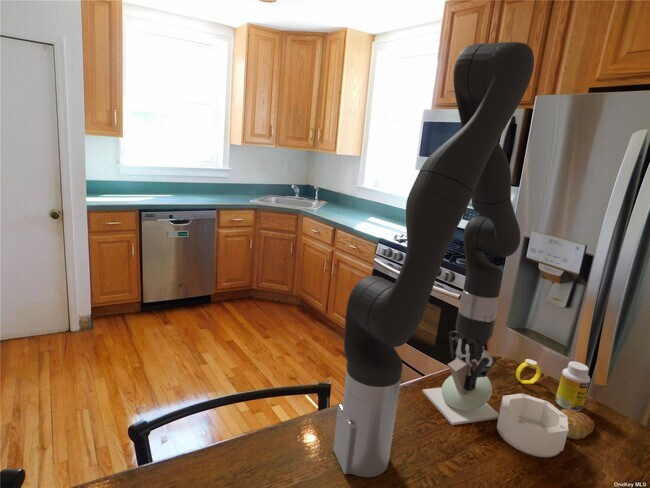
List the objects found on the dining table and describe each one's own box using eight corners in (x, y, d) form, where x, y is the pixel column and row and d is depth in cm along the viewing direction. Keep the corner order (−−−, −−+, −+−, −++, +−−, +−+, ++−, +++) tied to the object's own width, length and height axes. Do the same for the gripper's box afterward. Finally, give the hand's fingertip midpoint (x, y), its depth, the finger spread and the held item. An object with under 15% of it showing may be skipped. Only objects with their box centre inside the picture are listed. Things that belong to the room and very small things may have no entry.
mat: (452, 425, 88) (452, 422, 88) (422, 391, 99) (422, 389, 99) (500, 418, 92) (500, 415, 91) (466, 386, 103) (466, 384, 102)
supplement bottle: (574, 415, 95) (585, 374, 93) (550, 402, 99) (559, 362, 97) (586, 408, 98) (597, 368, 96) (562, 395, 103) (572, 357, 100)
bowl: (526, 461, 79) (532, 436, 78) (484, 420, 90) (489, 397, 89) (575, 452, 83) (582, 427, 82) (530, 413, 94) (535, 391, 93)
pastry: (573, 415, 95) (577, 400, 94) (602, 435, 89) (607, 419, 88) (543, 422, 92) (547, 407, 91) (571, 444, 86) (575, 428, 85)
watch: (532, 380, 109) (539, 359, 108) (539, 386, 106) (546, 365, 105) (511, 379, 108) (517, 357, 106) (518, 385, 105) (524, 363, 104)
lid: (461, 418, 89) (450, 391, 86) (433, 389, 99) (423, 363, 96) (503, 392, 91) (494, 364, 88) (471, 365, 101) (463, 340, 98)
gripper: (443, 300, 95) (431, 369, 99) (483, 327, 82) (468, 406, 86) (471, 299, 98) (459, 367, 102) (515, 325, 85) (499, 402, 89)
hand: (463, 384), depth 94 cm, fingers closed on lid, 3 cm apart
